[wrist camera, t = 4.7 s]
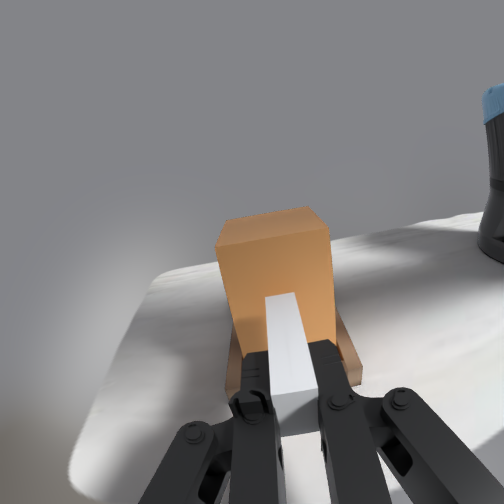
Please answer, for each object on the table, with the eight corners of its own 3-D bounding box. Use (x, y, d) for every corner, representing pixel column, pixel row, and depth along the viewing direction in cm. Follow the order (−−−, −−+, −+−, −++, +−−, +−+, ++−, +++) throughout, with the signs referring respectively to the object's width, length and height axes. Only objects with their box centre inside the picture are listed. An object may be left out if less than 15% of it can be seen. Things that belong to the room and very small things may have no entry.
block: (336, 368, 17) (328, 227, 14) (250, 382, 18) (214, 247, 15) (320, 321, 23) (308, 206, 20) (251, 333, 23) (226, 220, 20)
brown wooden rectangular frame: (361, 384, 16) (362, 366, 16) (231, 405, 17) (224, 389, 16) (310, 265, 37) (308, 252, 36) (243, 276, 37) (240, 264, 37)
